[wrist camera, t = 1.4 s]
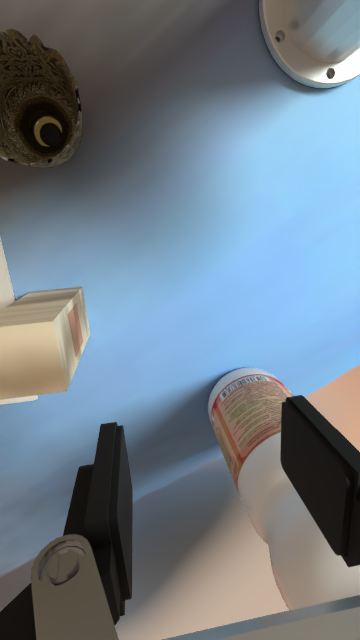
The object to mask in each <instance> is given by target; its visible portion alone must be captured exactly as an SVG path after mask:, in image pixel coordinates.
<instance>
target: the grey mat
mask: <svg viewBox="0 0 360 640" xmlns="http://www.w3.org/2000/svg"><path fill="white" fill-rule="evenodd" d="M13 302H15V297H14V292H13V288H12V284H11V280H10V275H9V271H8V267H7V262H6V258H5V254H4V249H3V245H2V241H1V236H0V311H1V310H2V309H4V308H5V307H7V306H8V305H10V304H12V303H13ZM37 399H38V396H37V395H34V396H26V397H19V398H11V399H4V400H0V405H2V404H9V403H17V402H24V401H32V400H37Z"/></svg>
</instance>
